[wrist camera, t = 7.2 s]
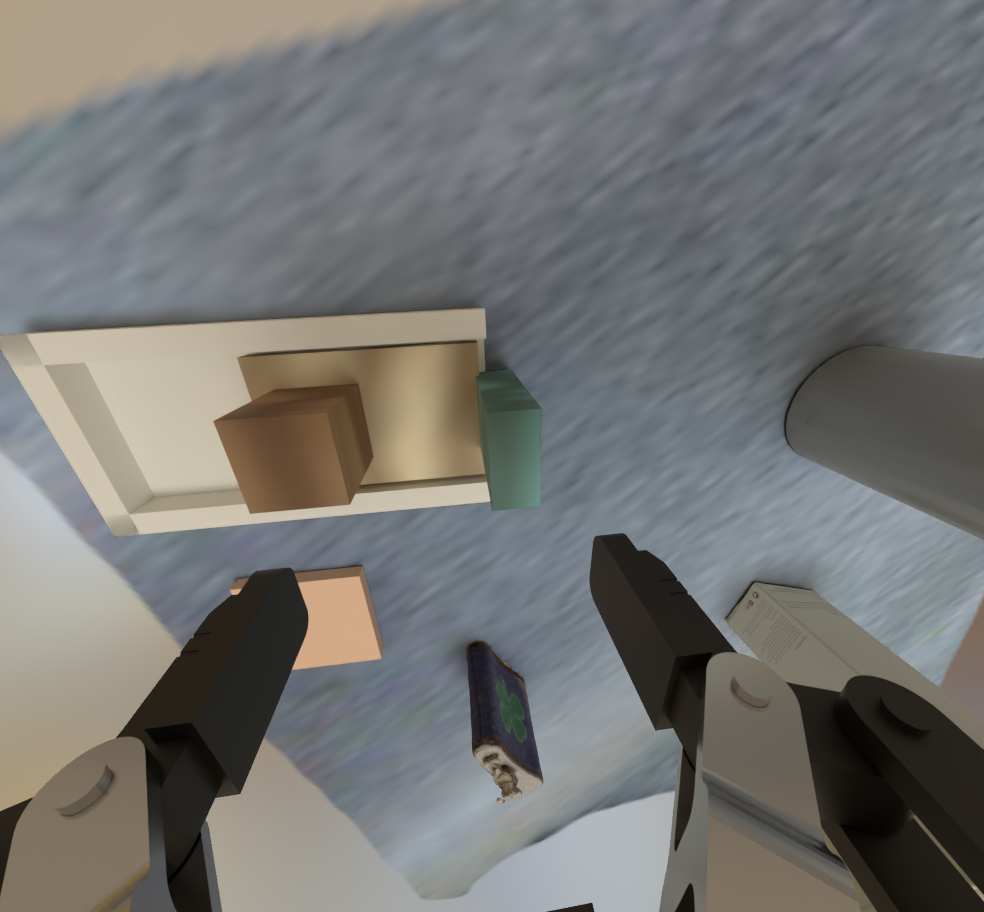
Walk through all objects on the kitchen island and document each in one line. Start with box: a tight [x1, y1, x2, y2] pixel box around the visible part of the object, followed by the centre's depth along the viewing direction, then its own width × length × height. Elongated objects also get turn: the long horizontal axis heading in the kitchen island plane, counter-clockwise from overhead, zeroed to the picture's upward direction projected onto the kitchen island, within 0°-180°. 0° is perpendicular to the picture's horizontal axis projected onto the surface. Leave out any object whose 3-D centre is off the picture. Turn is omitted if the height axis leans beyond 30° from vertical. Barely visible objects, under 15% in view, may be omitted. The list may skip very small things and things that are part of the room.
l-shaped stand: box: [237, 341, 542, 511], centre depth 20 cm, size 16×9×9 cm, turn 92°
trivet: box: [230, 566, 384, 670], centre depth 31 cm, size 10×10×1 cm
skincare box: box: [726, 582, 984, 749], centre depth 30 cm, size 8×6×15 cm
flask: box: [466, 640, 543, 804], centre depth 32 cm, size 9×3×11 cm, turn 32°
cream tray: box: [0, 308, 490, 537], centre depth 23 cm, size 26×13×2 cm, turn 92°
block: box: [213, 384, 374, 514], centre depth 20 cm, size 5×5×6 cm
